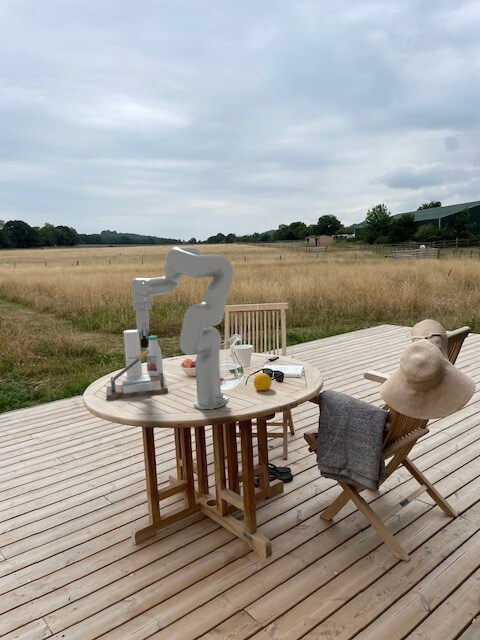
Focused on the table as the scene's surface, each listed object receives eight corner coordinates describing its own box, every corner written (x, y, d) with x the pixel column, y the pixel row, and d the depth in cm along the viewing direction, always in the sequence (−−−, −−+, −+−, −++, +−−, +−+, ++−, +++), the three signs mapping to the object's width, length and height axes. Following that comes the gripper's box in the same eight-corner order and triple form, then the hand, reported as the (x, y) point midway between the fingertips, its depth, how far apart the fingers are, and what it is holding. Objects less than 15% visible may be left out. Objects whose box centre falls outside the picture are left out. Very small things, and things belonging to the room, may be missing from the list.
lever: (112, 382, 197) (111, 381, 197) (112, 380, 202) (111, 378, 201) (149, 352, 200) (148, 350, 200) (149, 350, 204) (147, 349, 204)
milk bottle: (157, 371, 236) (155, 334, 233) (166, 374, 231) (163, 335, 228) (144, 375, 231) (142, 336, 228) (152, 377, 225) (150, 338, 222)
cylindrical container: (138, 384, 215) (135, 332, 211) (124, 383, 217) (120, 332, 213) (144, 379, 222) (141, 329, 218) (131, 379, 223) (127, 329, 220)
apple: (271, 392, 195) (270, 375, 193) (252, 392, 196) (252, 375, 194) (272, 387, 202) (271, 370, 201) (254, 387, 203) (254, 370, 202)
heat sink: (111, 394, 193) (110, 381, 193) (111, 386, 206) (110, 373, 206) (164, 388, 199) (164, 375, 199) (161, 380, 212) (160, 368, 212)
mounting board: (106, 400, 193) (106, 395, 193) (107, 390, 206) (106, 386, 206) (168, 392, 200) (167, 388, 200) (164, 384, 213) (164, 380, 213)
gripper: (132, 305, 205) (135, 344, 208) (134, 308, 191) (137, 351, 194) (149, 304, 207) (151, 343, 210) (152, 307, 193) (154, 349, 196)
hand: (144, 347), depth 202 cm, fingers closed
